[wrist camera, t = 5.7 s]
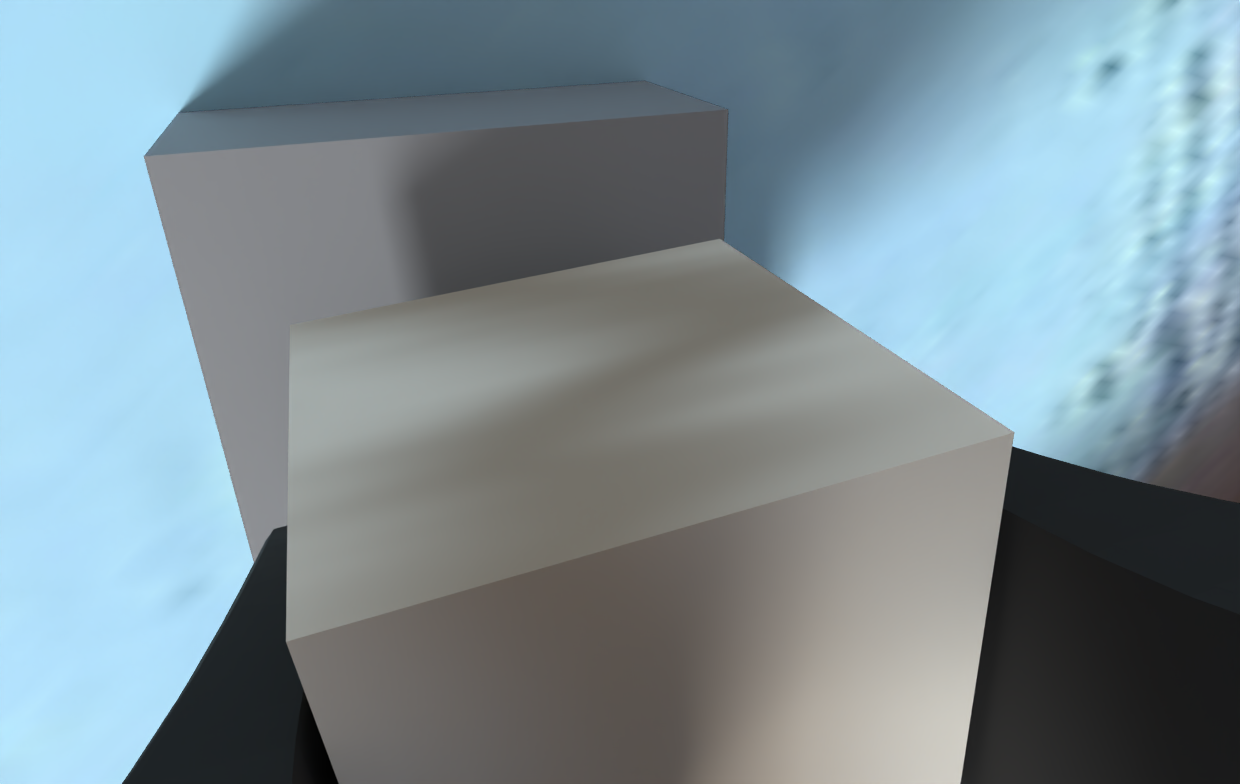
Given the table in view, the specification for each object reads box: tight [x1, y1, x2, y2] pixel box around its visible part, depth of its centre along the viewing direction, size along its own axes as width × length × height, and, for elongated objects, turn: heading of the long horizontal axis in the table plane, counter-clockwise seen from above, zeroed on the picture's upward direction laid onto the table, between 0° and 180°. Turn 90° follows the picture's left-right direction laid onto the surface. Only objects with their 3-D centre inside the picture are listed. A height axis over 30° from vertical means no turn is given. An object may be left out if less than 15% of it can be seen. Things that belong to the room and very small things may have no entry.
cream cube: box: [286, 239, 1014, 784], centre depth 9 cm, size 5×5×5 cm
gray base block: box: [144, 81, 728, 562], centre depth 13 cm, size 7×7×4 cm
